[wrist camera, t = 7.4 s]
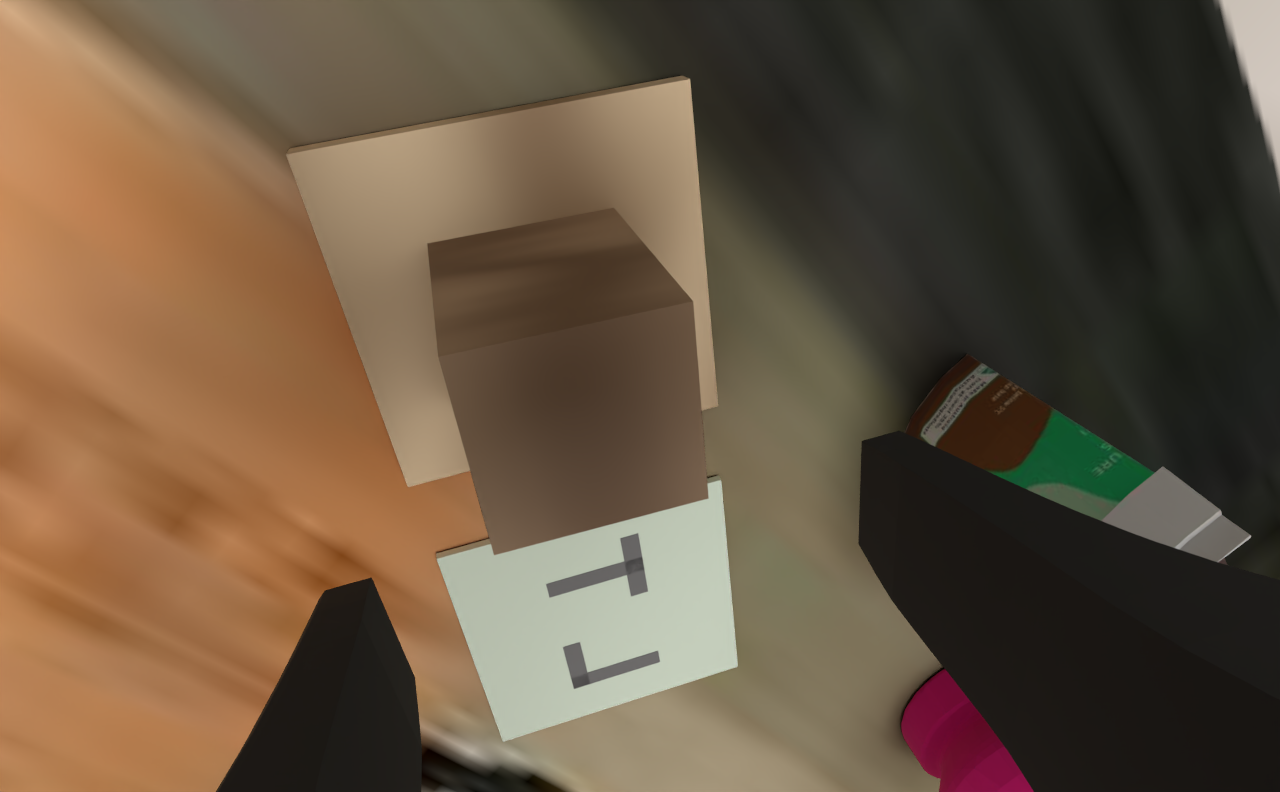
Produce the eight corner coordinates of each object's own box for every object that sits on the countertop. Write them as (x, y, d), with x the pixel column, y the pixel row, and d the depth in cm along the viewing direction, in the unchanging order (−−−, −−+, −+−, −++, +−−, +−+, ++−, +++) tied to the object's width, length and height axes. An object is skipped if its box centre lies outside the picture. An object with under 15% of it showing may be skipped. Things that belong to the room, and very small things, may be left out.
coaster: (407, 474, 21) (407, 487, 21) (289, 148, 17) (285, 154, 16) (711, 396, 23) (718, 405, 22) (681, 75, 18) (690, 79, 18)
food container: (795, 447, 25) (999, 699, 16) (950, 323, 24) (1247, 521, 16) (943, 616, 31) (1141, 858, 23) (1068, 523, 30) (1321, 738, 22)
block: (470, 405, 20) (493, 555, 15) (427, 243, 18) (438, 357, 13) (634, 367, 21) (708, 498, 16) (613, 207, 19) (693, 301, 14)
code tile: (502, 736, 28) (503, 742, 27) (436, 553, 23) (436, 559, 23) (735, 661, 29) (737, 667, 29) (718, 475, 24) (721, 480, 24)
